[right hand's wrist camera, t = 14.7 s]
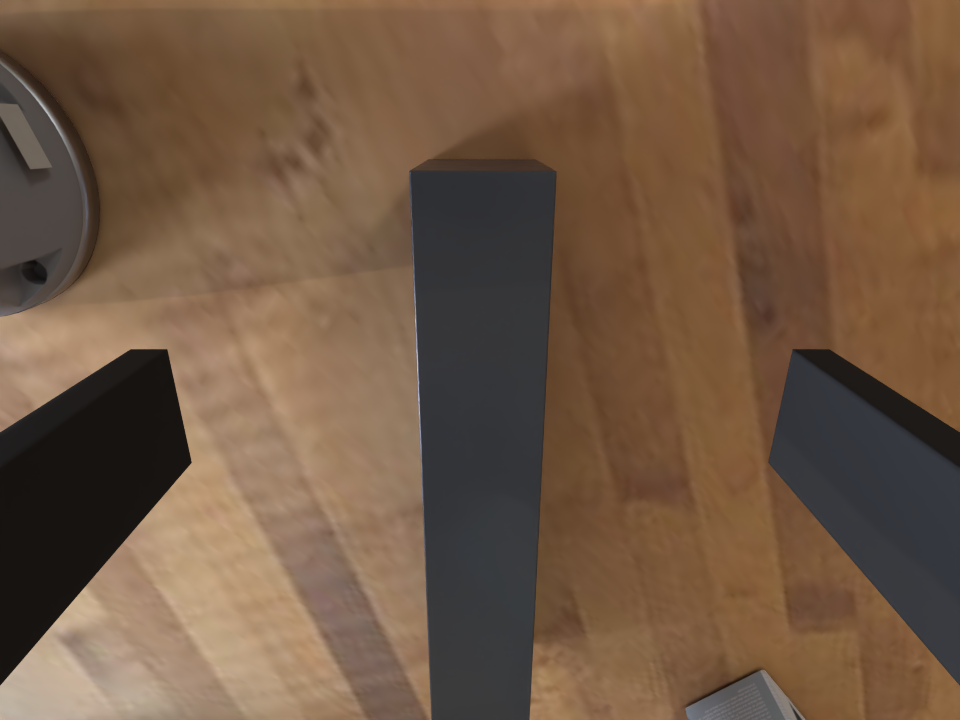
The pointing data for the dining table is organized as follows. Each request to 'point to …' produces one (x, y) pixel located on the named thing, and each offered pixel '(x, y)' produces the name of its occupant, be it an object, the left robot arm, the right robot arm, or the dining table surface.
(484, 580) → the slate beam
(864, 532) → the right robot arm
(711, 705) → the hard drive box
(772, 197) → the dining table surface
